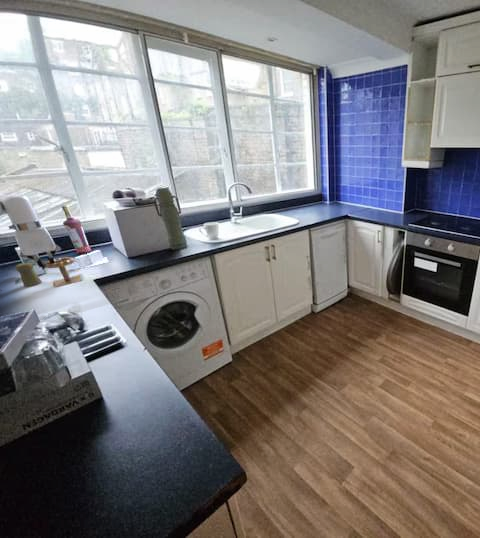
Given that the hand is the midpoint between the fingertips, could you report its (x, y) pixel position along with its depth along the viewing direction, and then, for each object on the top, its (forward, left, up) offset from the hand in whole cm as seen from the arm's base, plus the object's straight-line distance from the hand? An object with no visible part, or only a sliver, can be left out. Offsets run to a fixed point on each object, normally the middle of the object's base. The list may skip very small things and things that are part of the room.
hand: (48, 266), depth 129 cm
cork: (-7, +8, -10) cm, 15 cm away
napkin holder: (+14, +25, -10) cm, 30 cm away
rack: (+4, 0, -9) cm, 10 cm away
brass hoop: (+4, 0, +1) cm, 4 cm away
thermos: (+55, +16, -10) cm, 58 cm away
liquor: (+14, +51, -10) cm, 54 cm away
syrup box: (-6, +27, -10) cm, 29 cm away
